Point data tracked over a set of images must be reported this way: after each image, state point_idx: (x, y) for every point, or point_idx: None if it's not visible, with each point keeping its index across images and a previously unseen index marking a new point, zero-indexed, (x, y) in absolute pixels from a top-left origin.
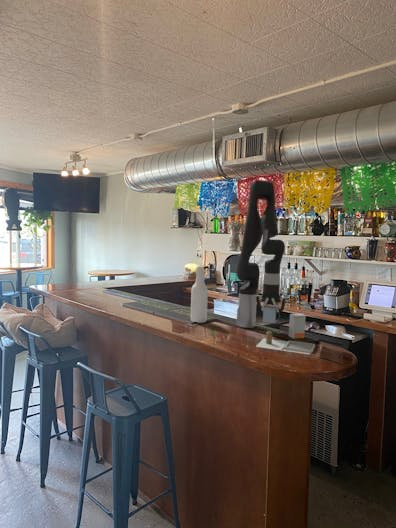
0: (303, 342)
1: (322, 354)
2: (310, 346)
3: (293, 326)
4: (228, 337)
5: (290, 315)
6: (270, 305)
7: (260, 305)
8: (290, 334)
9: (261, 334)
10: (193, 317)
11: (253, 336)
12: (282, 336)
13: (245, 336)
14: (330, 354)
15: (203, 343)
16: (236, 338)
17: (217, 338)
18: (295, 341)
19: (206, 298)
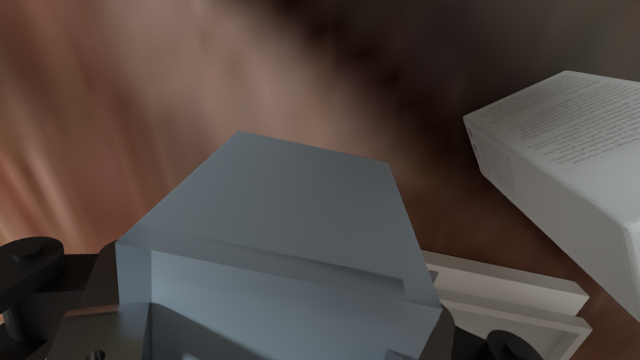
0: (524, 317)
1: (575, 356)
2: (547, 335)
3: (543, 231)
4: (52, 190)
5: (611, 231)
6: (240, 270)
7: (12, 302)
8: (487, 157)
9: (245, 25)
10: None
11: (195, 115)
12: (426, 38)
13: (142, 133)
14: (621, 349)
15: (3, 321)
16: (106, 199)
17: (8, 228)
18: (476, 309)
19: None
